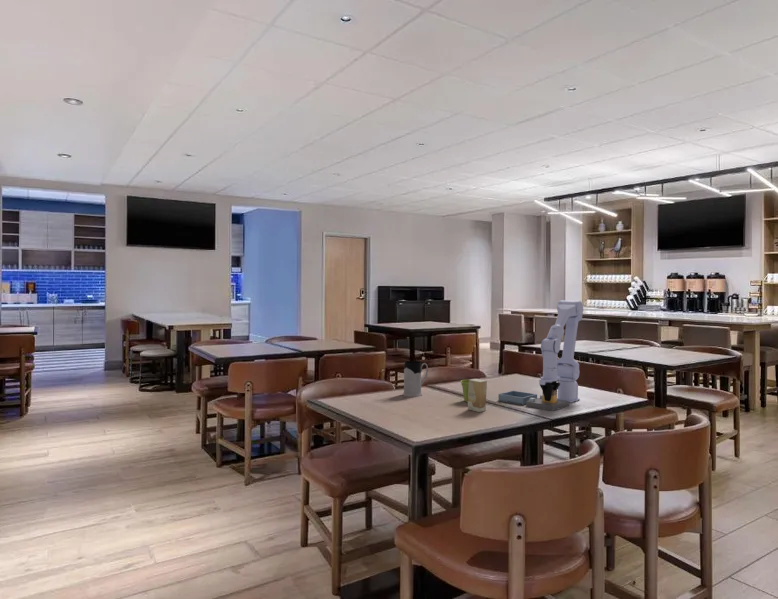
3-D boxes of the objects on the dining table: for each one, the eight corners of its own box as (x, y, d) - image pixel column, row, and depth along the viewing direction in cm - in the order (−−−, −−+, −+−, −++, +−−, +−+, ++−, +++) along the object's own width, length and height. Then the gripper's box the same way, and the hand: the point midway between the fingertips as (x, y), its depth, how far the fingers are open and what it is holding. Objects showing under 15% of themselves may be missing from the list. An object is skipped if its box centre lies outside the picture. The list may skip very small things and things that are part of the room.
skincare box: (467, 409, 220) (467, 379, 220) (474, 408, 223) (474, 378, 223) (479, 412, 215) (479, 381, 215) (486, 410, 218) (487, 380, 218)
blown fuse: (545, 404, 231) (546, 388, 230) (556, 406, 227) (557, 390, 227) (542, 406, 228) (542, 389, 228) (553, 407, 225) (553, 390, 225)
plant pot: (472, 404, 230) (472, 383, 230) (455, 400, 238) (455, 380, 238) (486, 401, 236) (486, 381, 236) (470, 398, 244) (470, 378, 243)
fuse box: (542, 401, 238) (542, 394, 238) (568, 405, 229) (568, 398, 229) (526, 406, 228) (526, 398, 228) (552, 410, 219) (552, 402, 219)
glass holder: (398, 394, 251) (399, 361, 250) (420, 390, 260) (420, 359, 260) (412, 397, 244) (412, 363, 244) (434, 393, 254) (434, 361, 253)
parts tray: (512, 397, 247) (513, 390, 247) (537, 401, 238) (537, 394, 238) (498, 400, 238) (498, 394, 238) (522, 405, 230) (523, 398, 230)
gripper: (549, 364, 235) (549, 396, 236) (532, 368, 225) (532, 401, 225) (565, 366, 231) (564, 398, 231) (548, 370, 220) (548, 403, 220)
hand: (549, 400), depth 228 cm, fingers closed on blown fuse, 3 cm apart
